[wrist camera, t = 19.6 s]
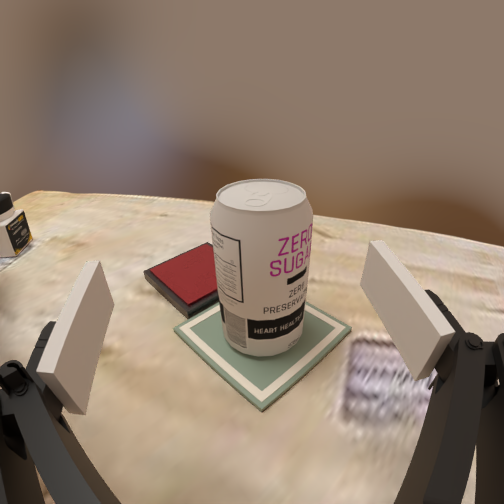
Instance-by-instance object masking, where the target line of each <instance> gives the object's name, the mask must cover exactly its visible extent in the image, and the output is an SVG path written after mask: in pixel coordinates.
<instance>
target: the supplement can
mask: <svg viewBox="0 0 504 504" xmlns="http://www.w3.org/2000/svg"><path fill="white" fill-rule="evenodd" d="M210 221H211V232H212V242H213V251H214V261H215V270H216V279H217V288H218V296H219V305H220V313H221V321H222V328H223V333H224V338H225V339H226V340H227V341H228V343H229V344H230V345H231V346H232V347H233V348H235V349H237V350H238V351H240V352H242V353H244V354H248V355H253V356H257V357H259V356H274V355H276V354H279V353H282V352H285V351H287V350H288V349H290V348H291V347H292V346H294V345H295V344H296V343H297V342H298V340H299V338H300V336H301V334H302V330H303V321H304V313H305V303H306V294H307V284H308V274H309V263H310V251H311V239H312V225H313V211H312V207H311V205H310V203H309V201H308V199H307V197H306V192H305V191H304V190H303V189H302V188H301V187H300V186H297V185H295V184H293V183H290V182H285V181H281V180H272V179H251V180H244V181H238V182H235V183H232V184H229V185H226V186H225V187H223V188H221V189H220V190H219V191H218V193H217V194H216V201H215V203H214V205H213V207H212V209H211V211H210Z"/></svg>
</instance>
